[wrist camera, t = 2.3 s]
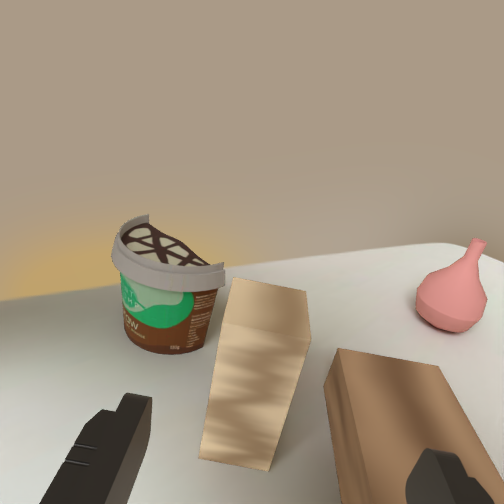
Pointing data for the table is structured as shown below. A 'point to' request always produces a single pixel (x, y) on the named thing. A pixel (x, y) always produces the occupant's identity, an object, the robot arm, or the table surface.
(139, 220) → the food container
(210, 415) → the oak post
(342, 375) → the base block
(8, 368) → the table surface
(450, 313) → the pink vase
